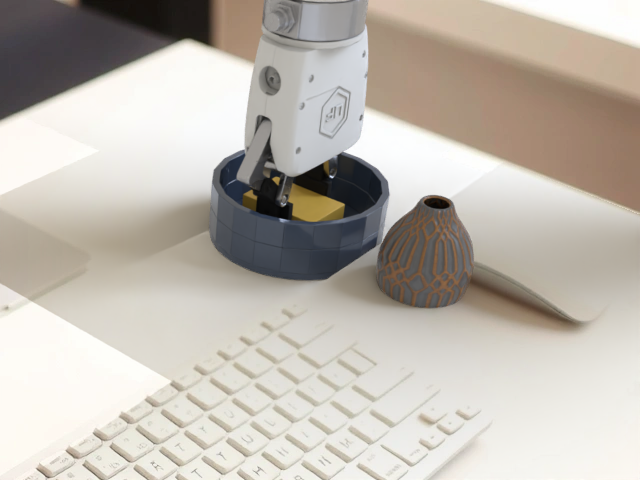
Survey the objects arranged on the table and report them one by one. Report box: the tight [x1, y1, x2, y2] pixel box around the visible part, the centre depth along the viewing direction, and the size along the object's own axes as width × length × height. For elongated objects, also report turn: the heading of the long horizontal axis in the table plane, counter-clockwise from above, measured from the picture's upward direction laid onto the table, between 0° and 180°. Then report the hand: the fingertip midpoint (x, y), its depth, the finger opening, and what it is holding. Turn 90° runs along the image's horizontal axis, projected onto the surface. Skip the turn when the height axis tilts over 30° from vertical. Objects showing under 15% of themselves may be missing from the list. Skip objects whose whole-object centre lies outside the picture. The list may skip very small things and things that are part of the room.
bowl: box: [208, 148, 391, 281], centre depth 89 cm, size 14×14×5 cm
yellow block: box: [242, 177, 345, 222], centre depth 89 cm, size 4×7×3 cm, turn 46°
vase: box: [375, 194, 475, 309], centre depth 80 cm, size 7×7×9 cm
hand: (290, 227), depth 90 cm, fingers closed on yellow block, 4 cm apart
